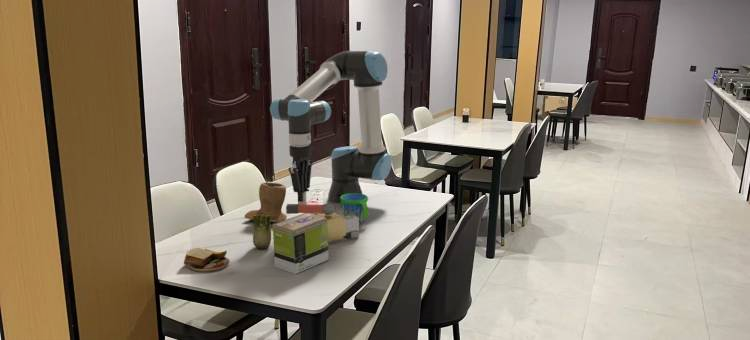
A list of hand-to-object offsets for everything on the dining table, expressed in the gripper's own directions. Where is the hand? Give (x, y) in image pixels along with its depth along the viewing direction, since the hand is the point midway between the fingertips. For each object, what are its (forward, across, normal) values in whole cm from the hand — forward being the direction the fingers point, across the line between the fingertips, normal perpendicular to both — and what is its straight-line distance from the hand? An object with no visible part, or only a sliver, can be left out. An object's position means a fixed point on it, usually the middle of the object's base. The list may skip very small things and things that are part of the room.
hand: (302, 209), depth 213 cm
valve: (+11, +1, -10) cm, 15 cm away
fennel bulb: (+11, -14, +8) cm, 20 cm away
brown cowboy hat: (+11, +12, +23) cm, 29 cm away
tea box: (+11, -21, -12) cm, 27 cm away
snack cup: (+12, +24, -9) cm, 28 cm away
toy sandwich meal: (+11, -35, +15) cm, 39 cm away
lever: (0, -1, -4) cm, 4 cm away
